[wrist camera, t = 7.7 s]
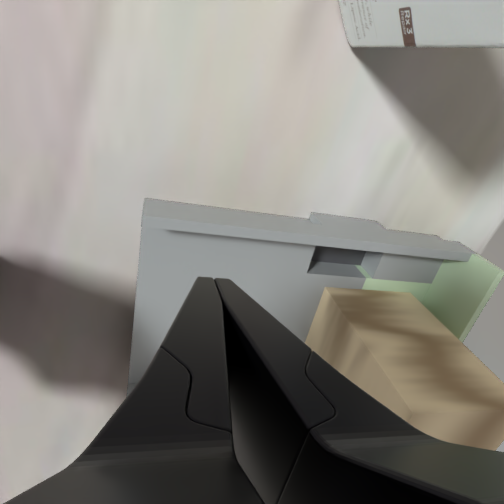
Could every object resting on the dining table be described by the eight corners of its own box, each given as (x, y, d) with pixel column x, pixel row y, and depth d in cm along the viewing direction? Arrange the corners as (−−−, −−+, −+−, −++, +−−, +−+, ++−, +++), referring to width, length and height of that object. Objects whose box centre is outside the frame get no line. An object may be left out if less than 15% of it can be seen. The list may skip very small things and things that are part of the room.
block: (304, 343, 27) (372, 482, 18) (325, 286, 24) (413, 414, 16) (384, 344, 29) (480, 469, 20) (410, 292, 26) (529, 408, 18)
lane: (129, 368, 27) (121, 443, 22) (145, 189, 21) (139, 235, 16) (372, 368, 33) (410, 427, 28) (440, 229, 27) (505, 272, 22)
